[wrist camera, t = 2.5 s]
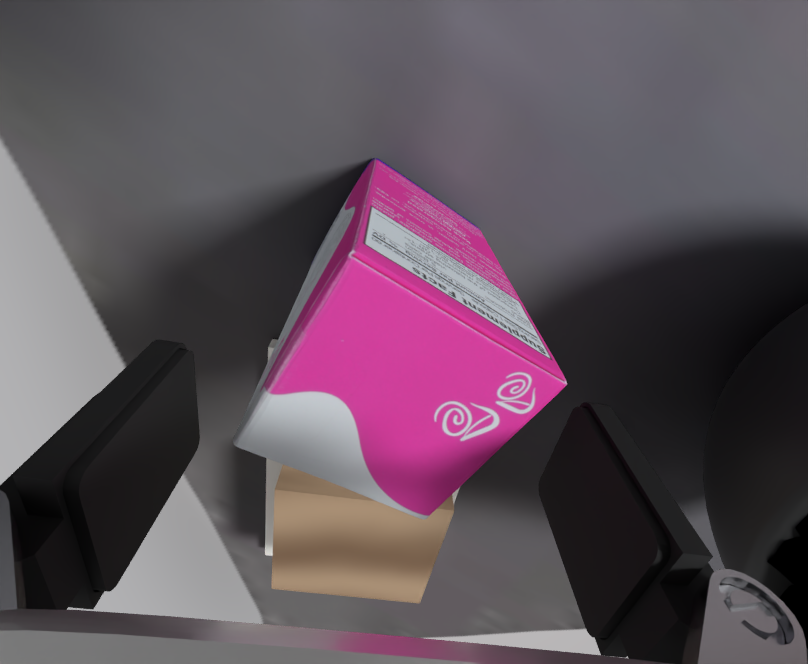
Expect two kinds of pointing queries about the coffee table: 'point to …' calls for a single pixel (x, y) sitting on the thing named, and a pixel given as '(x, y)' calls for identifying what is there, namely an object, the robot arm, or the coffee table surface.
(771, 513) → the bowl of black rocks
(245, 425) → the supplement box
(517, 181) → the coffee table surface
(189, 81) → the coffee table surface
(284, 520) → the walnut block
